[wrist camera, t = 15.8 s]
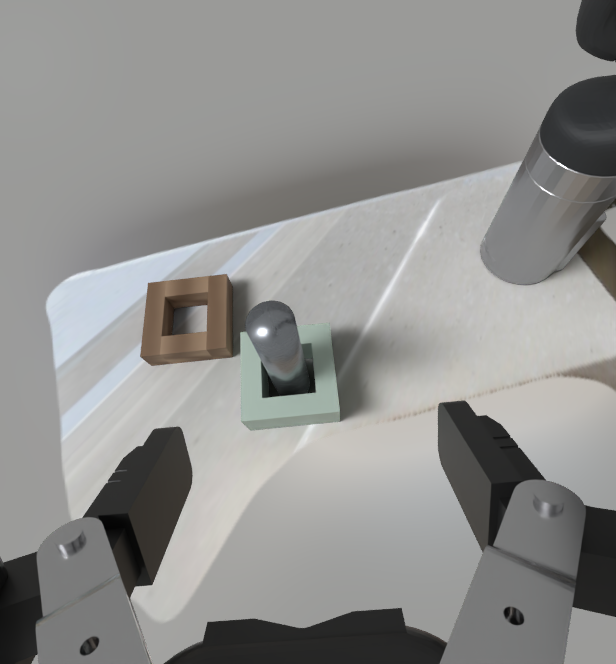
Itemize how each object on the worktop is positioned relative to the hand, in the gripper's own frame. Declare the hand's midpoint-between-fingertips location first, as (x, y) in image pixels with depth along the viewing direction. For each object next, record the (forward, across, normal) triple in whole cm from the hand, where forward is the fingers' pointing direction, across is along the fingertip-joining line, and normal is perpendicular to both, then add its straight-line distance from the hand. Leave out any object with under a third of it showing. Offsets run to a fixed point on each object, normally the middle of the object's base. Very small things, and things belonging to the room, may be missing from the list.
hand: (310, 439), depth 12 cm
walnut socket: (+37, +16, +7) cm, 41 cm away
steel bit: (+31, +4, +14) cm, 34 cm away
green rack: (+31, +4, +14) cm, 34 cm away
